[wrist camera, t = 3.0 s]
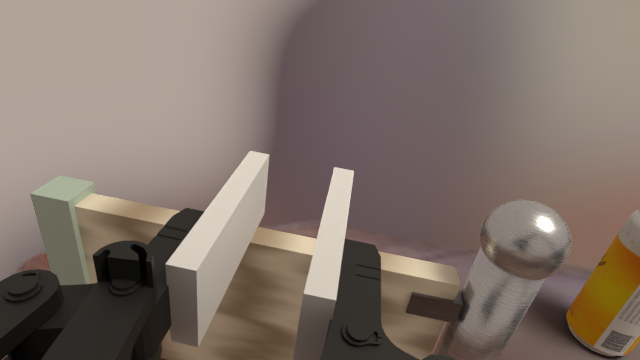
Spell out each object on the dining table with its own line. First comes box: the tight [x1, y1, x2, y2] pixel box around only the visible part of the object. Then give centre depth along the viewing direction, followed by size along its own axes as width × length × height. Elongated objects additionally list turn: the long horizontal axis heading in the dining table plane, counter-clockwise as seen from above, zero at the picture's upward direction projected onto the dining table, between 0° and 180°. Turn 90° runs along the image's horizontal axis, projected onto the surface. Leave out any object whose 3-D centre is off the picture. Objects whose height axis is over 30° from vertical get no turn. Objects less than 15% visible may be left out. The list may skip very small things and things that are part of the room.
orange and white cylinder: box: [566, 209, 640, 356], centre depth 37 cm, size 6×6×15 cm
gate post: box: [433, 200, 571, 360], centre depth 25 cm, size 5×5×21 cm
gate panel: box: [30, 175, 463, 360], centre depth 26 cm, size 26×2×14 cm, turn 82°
